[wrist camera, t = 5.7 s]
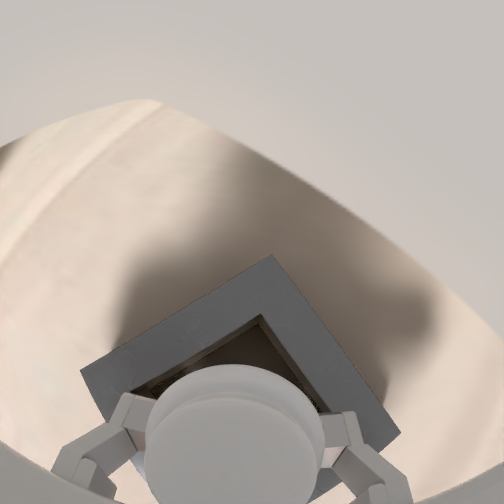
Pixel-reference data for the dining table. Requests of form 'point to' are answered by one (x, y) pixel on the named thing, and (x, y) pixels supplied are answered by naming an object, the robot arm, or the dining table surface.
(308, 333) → the socket housing
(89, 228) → the dining table surface
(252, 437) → the supplement bottle
